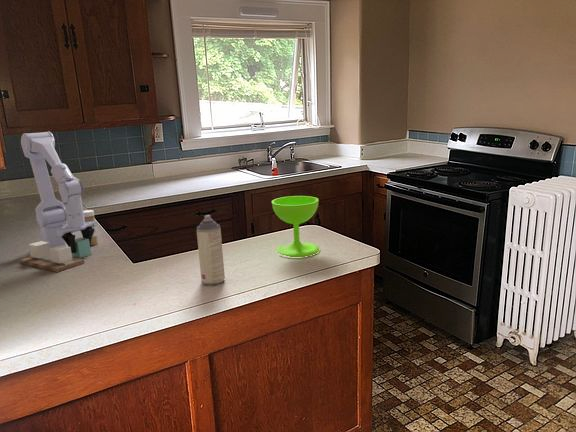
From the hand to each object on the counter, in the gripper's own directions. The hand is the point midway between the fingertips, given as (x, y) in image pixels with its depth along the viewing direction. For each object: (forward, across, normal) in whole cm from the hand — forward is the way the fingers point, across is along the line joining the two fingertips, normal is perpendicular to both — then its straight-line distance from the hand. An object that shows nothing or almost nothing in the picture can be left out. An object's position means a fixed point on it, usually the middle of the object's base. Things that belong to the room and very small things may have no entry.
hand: (80, 250), depth 169 cm
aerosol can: (+2, +1, -62) cm, 62 cm away
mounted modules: (0, -10, +2) cm, 10 cm away
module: (+2, 0, 0) cm, 2 cm away
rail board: (+2, -10, +2) cm, 10 cm away
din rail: (+1, -10, +2) cm, 10 cm away
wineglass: (+2, +36, -70) cm, 79 cm away
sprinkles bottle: (+2, +11, +9) cm, 14 cm away
